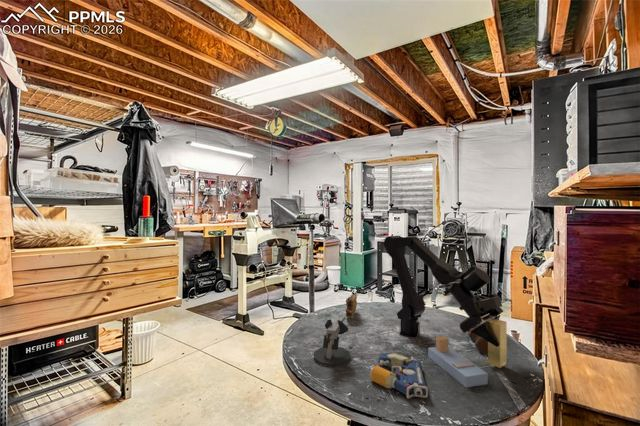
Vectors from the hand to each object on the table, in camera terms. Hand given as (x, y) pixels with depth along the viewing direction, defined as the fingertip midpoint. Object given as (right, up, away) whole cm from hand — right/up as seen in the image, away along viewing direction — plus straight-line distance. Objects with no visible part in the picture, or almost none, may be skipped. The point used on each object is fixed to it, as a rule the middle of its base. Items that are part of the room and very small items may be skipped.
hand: (501, 343), depth 93 cm
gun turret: (-51, -8, +11) cm, 52 cm away
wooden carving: (-41, -8, +46) cm, 63 cm away
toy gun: (-33, -8, -5) cm, 35 cm away
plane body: (-14, -8, 0) cm, 16 cm away
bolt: (+2, -8, +18) cm, 19 cm away
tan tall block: (-1, -7, +1) cm, 7 cm away
